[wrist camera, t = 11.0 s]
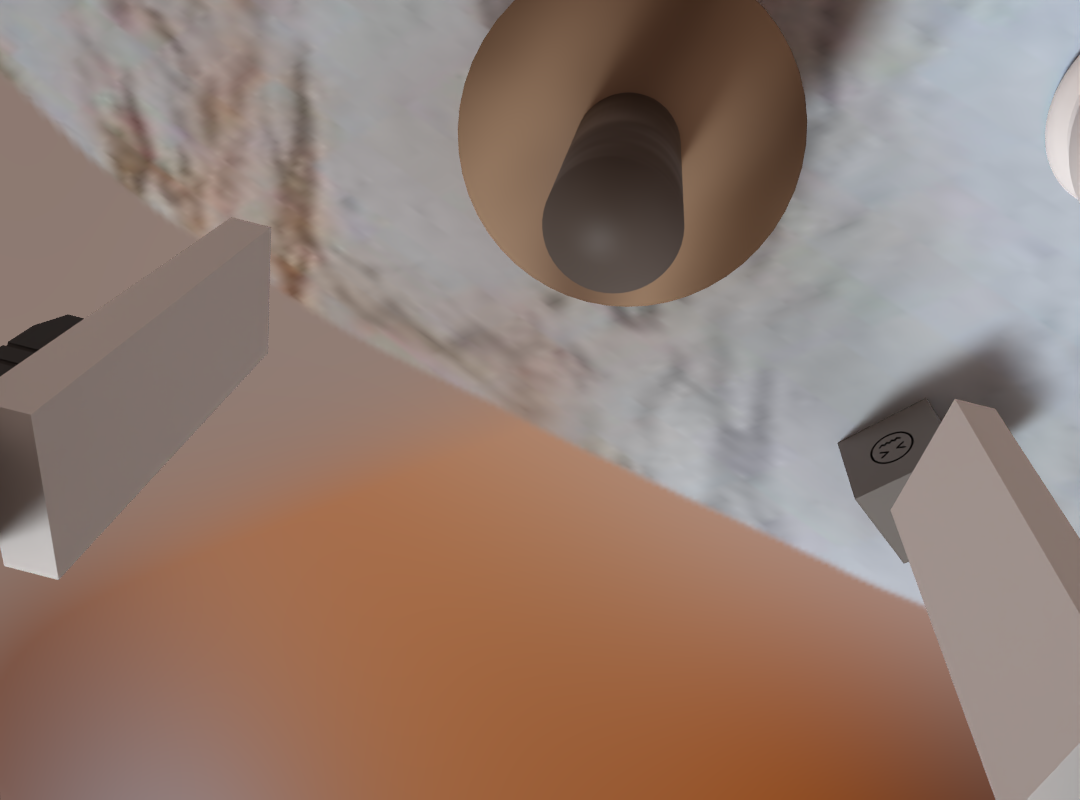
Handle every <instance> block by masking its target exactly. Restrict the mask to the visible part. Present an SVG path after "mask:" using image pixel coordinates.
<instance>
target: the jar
mask: <svg viewBox="0 0 1080 800" xmlns="http://www.w3.org/2000/svg"><path fill="white" fill-rule="evenodd" d="M1045 147H1046V154H1047V158H1048V161H1049V165H1050V167H1051V170H1052V172H1053V174H1054V175H1055V177H1056V179H1057V180H1058V182H1059V183H1060V184H1061V185H1062V187H1063V188H1064V189H1065V190H1066V191H1067V192H1068V193H1069V194H1071V195H1072V196H1073V197H1075V198H1076V199H1078V201H1079V203H1080V55H1079V56H1078V57H1077V59H1076V60H1075V61H1074V62H1073V64H1072V65H1071V66H1070V68H1069V69H1068V71H1067V72H1066V74H1065V75H1064V77H1063V79H1062V80H1061V82H1060V84H1059V86H1058V88H1057V90H1056V92H1055V94H1054V97H1053V99H1052V102H1051V105H1050V108H1049V111H1048V116H1047V121H1046V128H1045Z"/></svg>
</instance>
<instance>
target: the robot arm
mask: <svg viewBox="0 0 1080 800" xmlns="http://www.w3.org/2000/svg"><path fill="white" fill-rule="evenodd" d="M270 245H271V227H268V226H264V225H260V224H256V223H252V222H248V221H244V220H240V219H236V218H232V217H231V218H230V219H228V220H227V221H225V222H224V223H223V224H221V225H220V226H218V227H217V228H215V229H214V230H212V231H211V232H209V233H208V234H207V235H205V236H204V237H202V238H201V239H199V240H198V241H196V242H195V243H193V244H192V245H191V246H189V247H188V248H186V249H185V250H183V251H182V252H180V253H179V254H178V255H176V256H175V257H173V258H172V259H170V260H169V261H167V262H166V263H165V264H163V265H162V266H160V267H159V268H157V269H156V270H154V271H153V272H151V273H150V274H149V275H147V276H146V277H144V278H143V279H141V280H140V281H138V282H137V283H135V284H134V285H132V286H131V287H130V288H128V289H127V290H125V291H124V292H122V293H121V294H120V295H118V296H117V297H115V298H114V299H112V300H111V301H109V302H108V303H106V304H105V305H104V306H102V307H101V308H99V309H98V310H96V311H95V312H93V313H92V314H90V315H89V316H87V317H86V318H85V319H84V318H80V317H76V316H71V315H65V316H62V317H59V318H56V319H53V320H50V321H46V322H43V323H41V324H37V325H34V326H32V327H30V328H29V329H27V330H26V331H24V332H23V333H21V334H20V335H18V336H17V337H15V338H13V339H12V340H10V341H9V342H8V345H7V346H4V345H3V346H1V347H0V548H1V552H2V557H3V562H4V566H6V567H10V568H15V569H18V570H22V571H26V572H30V573H34V574H38V575H41V576H45V577H49V578H53V579H57V580H59V579H60V578H61V577H62V576H63V575H64V574H65V572H66V571H67V570H68V569H69V568H70V567H71V566H72V565H73V564H74V563H75V562H76V561H77V559H78V558H79V557H80V556H81V555H82V554H83V553H84V552H85V551H86V550H87V549H88V548H89V546H90V545H91V544H92V543H93V542H94V541H95V540H96V539H97V538H98V536H100V535H101V533H102V532H103V531H104V530H105V529H106V528H107V527H108V526H109V525H110V524H111V523H112V522H113V520H114V519H115V518H116V517H117V516H118V515H119V514H120V513H121V512H122V511H123V510H124V508H125V507H126V506H127V505H128V504H129V503H130V502H131V501H132V500H133V499H134V498H135V497H136V495H137V494H138V493H139V492H140V491H141V490H142V489H143V488H144V487H145V486H146V485H147V483H148V482H149V481H150V480H151V479H152V478H153V477H154V476H155V475H156V474H157V473H158V472H159V470H160V469H161V468H162V467H163V466H164V465H165V464H166V463H167V462H168V461H169V459H171V457H172V456H173V455H174V454H175V453H176V452H177V451H178V450H179V449H180V448H181V447H182V445H183V444H184V443H185V442H186V441H187V440H188V439H189V438H190V437H191V436H192V435H193V434H194V433H195V431H196V430H197V429H198V428H199V427H200V426H201V425H202V424H203V423H204V422H205V421H206V419H207V418H208V417H209V416H210V415H211V414H212V413H213V412H214V411H215V410H216V409H217V407H218V406H219V405H220V404H221V403H222V402H223V401H224V400H225V399H226V398H227V397H228V396H229V395H230V394H231V392H232V391H233V390H234V389H235V388H236V387H237V386H238V385H239V384H240V382H241V381H242V380H243V379H244V378H245V377H246V376H247V375H248V374H249V373H250V372H251V371H252V370H253V368H254V367H255V366H256V365H257V364H258V363H259V362H260V361H261V360H262V359H263V358H264V356H266V354H267V353H268V329H269V287H270ZM891 513H892V516H893V519H894V521H895V524H896V527H897V530H898V532H899V535H900V538H901V541H902V543H903V546H904V549H905V552H906V554H907V557H908V560H909V563H910V565H911V568H912V571H913V574H914V576H915V579H916V582H917V585H918V587H919V590H920V593H921V596H922V598H923V601H924V604H925V607H926V609H927V612H928V615H929V617H930V620H931V623H932V626H933V629H934V631H935V634H936V637H937V640H938V642H939V645H940V648H941V650H942V653H943V656H944V659H945V662H946V664H947V667H948V670H949V673H950V675H951V678H952V681H953V684H954V686H955V689H956V692H957V695H958V697H959V700H960V703H961V706H962V708H963V711H964V714H965V717H966V719H967V722H968V725H969V728H970V730H971V733H972V736H973V739H974V741H975V744H976V747H977V750H978V752H979V755H980V758H981V761H982V763H983V766H984V769H985V771H986V774H987V777H988V780H989V783H990V785H991V788H992V791H993V794H994V796H995V799H996V800H1080V538H1079V537H1078V535H1077V534H1076V532H1075V531H1074V529H1073V528H1072V526H1071V525H1070V523H1069V522H1068V520H1067V518H1066V517H1065V515H1064V514H1063V512H1062V511H1061V509H1060V508H1059V506H1058V505H1057V503H1056V502H1055V500H1054V498H1053V497H1052V495H1051V494H1050V492H1049V491H1048V489H1047V488H1046V486H1045V485H1044V483H1043V482H1042V480H1041V478H1040V477H1039V475H1038V474H1037V472H1036V471H1035V469H1034V468H1033V466H1032V465H1031V463H1030V461H1029V460H1028V458H1027V457H1026V455H1025V454H1024V452H1023V451H1022V449H1021V448H1020V446H1019V445H1018V443H1017V441H1016V440H1015V438H1014V437H1013V435H1012V434H1011V432H1010V431H1009V429H1008V428H1007V426H1006V425H1005V423H1004V421H1003V420H1002V418H1001V417H1000V415H999V414H998V412H997V411H996V409H994V408H990V407H986V406H982V405H978V404H974V403H970V402H966V401H962V400H958V399H954V401H953V403H952V405H951V406H950V408H949V410H948V412H947V413H946V415H945V417H944V418H943V420H942V422H941V424H940V425H939V427H938V429H937V431H936V432H935V434H934V436H933V437H932V439H931V441H930V443H929V444H928V446H927V448H926V450H925V451H924V453H923V455H922V457H921V458H920V460H919V462H918V463H917V465H916V467H915V469H914V470H913V472H912V474H911V476H910V477H909V479H908V481H907V482H906V484H905V486H904V488H903V489H902V491H901V493H900V495H899V496H898V498H897V500H896V502H895V503H894V505H893V507H892V508H891Z"/></svg>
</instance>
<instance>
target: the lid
mask: <svg viewBox="0 0 1080 800" xmlns="http://www.w3.org/2000/svg"><path fill="white" fill-rule="evenodd" d="M806 133H807V114H806V103H805V94H804V90H803V86H802V81H801V77H800V72H799V70H798V67H797V64H796V62H795V59H794V57H793V54H792V51H791V49H790V47H789V45H788V44H787V42H786V40H785V38H784V36H783V35H782V33H781V31H780V29H779V27H778V26H777V25H776V23H775V22H774V21H773V20H772V18H771V17H770V16H769V14H768V13H767V12H766V10H765V9H764V8H763V7H762V6H761V5H760V4H759V3H758V2H757V1H756V0H515V1H514V2H513V3H512V4H511V5H510V6H509V7H508V8H507V9H506V11H505V12H504V13H503V14H502V15H501V16H500V17H499V18H498V19H497V21H496V22H495V24H494V25H493V27H492V28H491V30H490V31H489V33H488V34H487V35H486V37H485V38H484V40H483V42H482V44H481V46H480V48H479V50H478V52H477V54H476V56H475V58H474V60H473V62H472V64H471V67H470V70H469V73H468V76H467V79H466V82H465V85H464V89H463V94H462V99H461V104H460V110H459V122H458V144H459V156H460V162H461V168H462V174H463V177H464V181H465V184H466V187H467V191H468V194H469V197H470V199H471V201H472V203H473V206H474V208H475V210H476V212H477V215H478V216H479V218H480V220H481V221H482V223H483V225H484V226H485V228H486V230H487V231H488V233H489V234H490V236H491V237H492V238H493V240H494V241H495V242H496V243H497V245H498V246H499V247H500V249H501V250H502V251H503V252H504V253H505V254H506V255H507V256H508V257H509V258H510V259H511V260H512V261H513V262H514V263H515V264H516V265H518V266H519V267H520V268H521V269H523V270H524V271H525V272H526V273H528V274H529V275H530V276H532V277H533V278H535V279H536V280H538V281H540V282H541V283H543V284H545V285H546V286H548V287H550V288H552V289H554V290H556V291H559V292H561V293H563V294H565V295H567V296H571V297H574V298H577V299H580V300H583V301H586V302H592V303H597V304H602V305H609V306H625V307H630V306H648V305H654V304H659V303H665V302H670V301H673V300H676V299H680V298H683V297H686V296H689V295H691V294H694V293H696V292H698V291H700V290H703V289H705V288H707V287H709V286H711V285H712V284H714V283H716V282H718V281H719V280H721V279H723V278H724V277H726V276H727V275H729V274H730V273H731V272H733V271H734V270H735V269H737V268H738V267H739V266H740V265H742V264H743V263H744V262H745V261H746V260H747V259H748V258H749V257H750V256H751V255H752V254H753V253H754V252H755V251H756V250H758V249H759V247H760V246H761V245H762V244H763V242H764V241H765V240H766V239H767V238H768V236H769V235H770V234H771V233H772V231H773V230H774V228H775V227H776V225H777V223H778V222H779V220H780V219H781V217H782V215H783V214H784V212H785V210H786V208H787V206H788V204H789V202H790V200H791V197H792V195H793V193H794V191H795V188H796V185H797V182H798V178H799V175H800V172H801V169H802V164H803V158H804V153H805V147H806Z"/></svg>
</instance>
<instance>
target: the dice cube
mask: <svg viewBox="0 0 1080 800" xmlns="http://www.w3.org/2000/svg"><path fill="white" fill-rule="evenodd" d="M941 422H942V421H941V420H940V418H939V417H938V415H937V414H936V412H935V411H934V409H933V408H932V406H931V405H930V404H929V402H928V401H927V399H924V400H922V401H920V402H918V403H916V404H914V405H912V406H910V407H908V408H906V409H904V410H902V411H900V412H898V413H896V414H894V415H892V416H890V417H888V418H886V419H884V420H882V421H880V422H878V423H876V424H874V425H872V426H870V427H868V428H866V429H865V430H863V431H861V432H859V433H857V434H855V435H853V436H851V437H849V438H847V439H845V440H843V441H841V442H839V443H838V446H839V449H840V452H841V456H842V459H843V462H844V465H845V468H846V472H847V475H848V478H849V481H850V484H851V488H852V491H853V494H854V497H855V500H856V501H857V502H858V504H859V505H860V506H861V508H862V509H863V510H864V512H865V513H866V514H867V516H868V517H869V518H870V519H871V521H872V522H873V523H874V525H875V526H876V527H877V529H878V530H879V531H880V533H881V534H882V535H883V537H884V538H885V539H886V541H887V542H888V543H889V544H890V546H891V547H892V548H893V550H894V551H895V552H896V554H897V555H898V556H899V558H900V559H901V560H902V562H903V563H906V562H909V560H908V557H907V554H906V552H905V549H904V546H903V543H902V541H901V538H900V535H899V532H898V530H897V527H896V524H895V521H894V519H893V516H892V513H891V508H892V507H893V505H894V503H895V502H896V500H897V498H898V496H899V495H900V493H901V491H902V489H903V488H904V486H905V484H906V482H907V481H908V479H909V477H910V476H911V474H912V472H913V470H914V469H915V467H916V465H917V463H918V462H919V460H920V458H921V457H922V455H923V453H924V451H925V450H926V448H927V446H928V444H929V443H930V441H931V439H932V437H933V436H934V434H935V432H936V431H937V429H938V427H939V425H940V424H941Z"/></svg>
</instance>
